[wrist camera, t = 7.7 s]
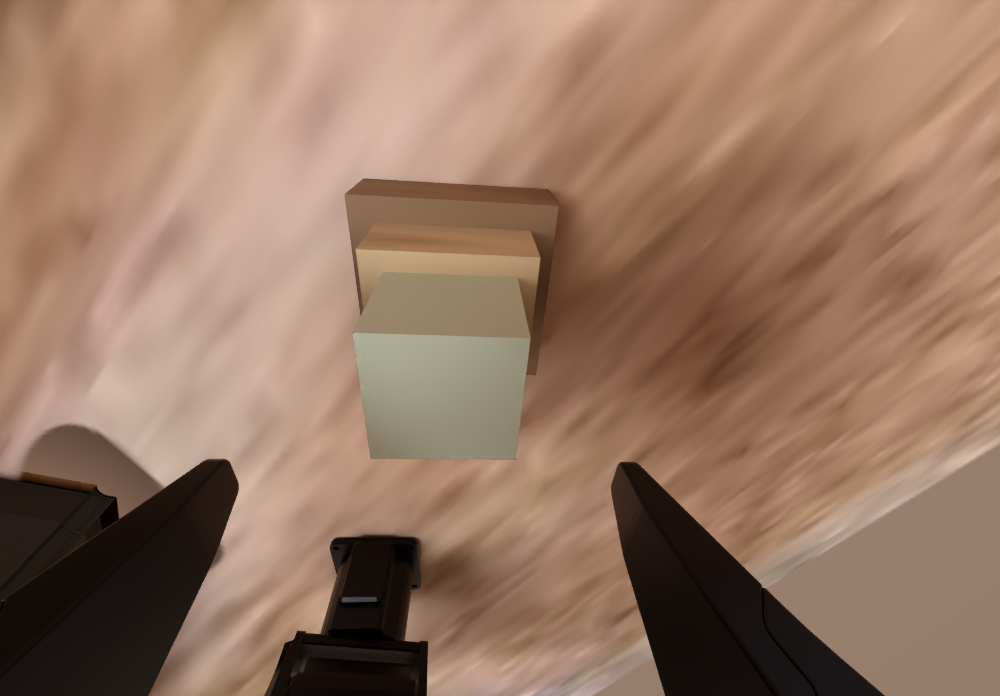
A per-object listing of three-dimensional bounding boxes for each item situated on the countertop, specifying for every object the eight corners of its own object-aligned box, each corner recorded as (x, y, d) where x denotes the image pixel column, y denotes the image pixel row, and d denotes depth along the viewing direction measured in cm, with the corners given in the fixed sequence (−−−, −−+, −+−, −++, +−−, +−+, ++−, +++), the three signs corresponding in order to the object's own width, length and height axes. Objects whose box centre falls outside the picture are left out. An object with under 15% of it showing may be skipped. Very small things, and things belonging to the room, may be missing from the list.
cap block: (507, 382, 16) (515, 459, 13) (393, 380, 16) (370, 458, 13) (517, 277, 14) (530, 338, 11) (382, 271, 14) (352, 332, 10)
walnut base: (529, 342, 22) (535, 374, 20) (380, 338, 22) (368, 371, 19) (547, 189, 18) (559, 206, 16) (363, 178, 18) (344, 194, 15)
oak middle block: (517, 357, 19) (523, 398, 17) (387, 353, 19) (374, 395, 16) (530, 230, 16) (540, 257, 14) (375, 223, 16) (355, 249, 13)
